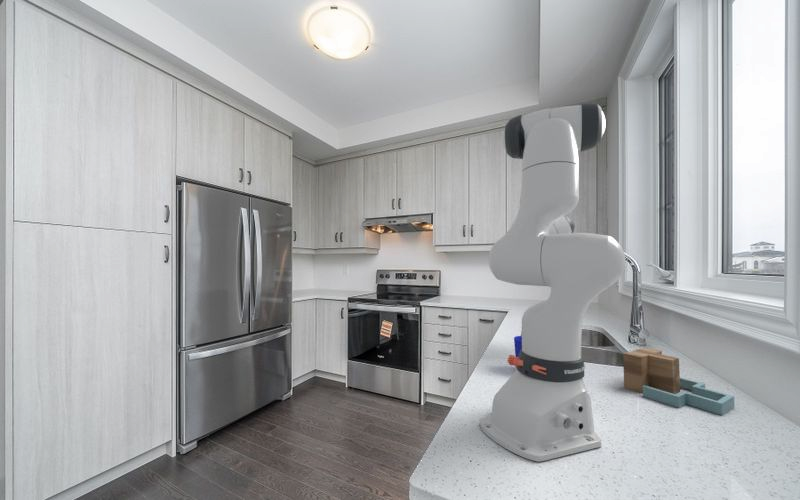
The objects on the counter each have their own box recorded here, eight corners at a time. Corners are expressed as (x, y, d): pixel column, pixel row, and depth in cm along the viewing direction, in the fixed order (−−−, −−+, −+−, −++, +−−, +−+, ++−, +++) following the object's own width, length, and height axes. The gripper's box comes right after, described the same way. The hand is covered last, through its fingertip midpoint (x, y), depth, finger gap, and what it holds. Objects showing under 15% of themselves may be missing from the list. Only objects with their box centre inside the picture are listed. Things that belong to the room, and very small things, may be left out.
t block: (666, 400, 73) (665, 362, 73) (624, 387, 81) (623, 353, 81) (686, 390, 79) (685, 355, 79) (645, 379, 87) (644, 347, 87)
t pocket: (715, 419, 64) (715, 407, 64) (642, 396, 75) (642, 386, 76) (740, 403, 72) (739, 392, 72) (670, 384, 83) (670, 374, 83)
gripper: (543, 258, 100) (569, 292, 91) (593, 250, 105) (622, 282, 96) (535, 269, 104) (559, 303, 96) (583, 261, 109) (610, 293, 101)
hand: (591, 293), depth 96 cm, fingers open, 8 cm apart
